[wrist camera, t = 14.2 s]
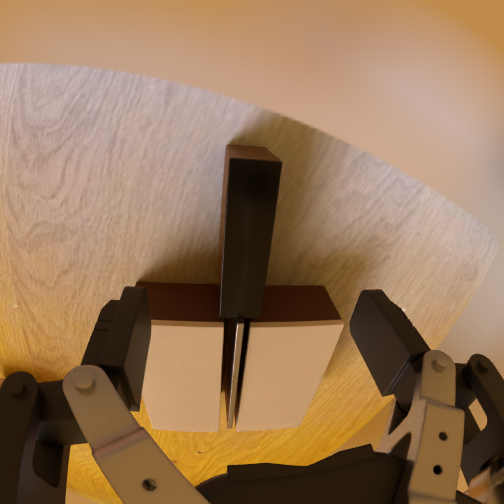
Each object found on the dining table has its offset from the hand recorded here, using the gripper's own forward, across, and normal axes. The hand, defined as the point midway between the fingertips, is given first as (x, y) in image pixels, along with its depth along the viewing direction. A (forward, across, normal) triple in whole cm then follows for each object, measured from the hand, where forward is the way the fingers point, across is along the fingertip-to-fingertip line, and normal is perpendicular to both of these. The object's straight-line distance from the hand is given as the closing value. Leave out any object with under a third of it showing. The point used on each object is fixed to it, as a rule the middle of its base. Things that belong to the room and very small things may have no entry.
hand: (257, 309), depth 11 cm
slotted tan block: (+9, 0, +12) cm, 15 cm away
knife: (+9, 0, +7) cm, 11 cm away
